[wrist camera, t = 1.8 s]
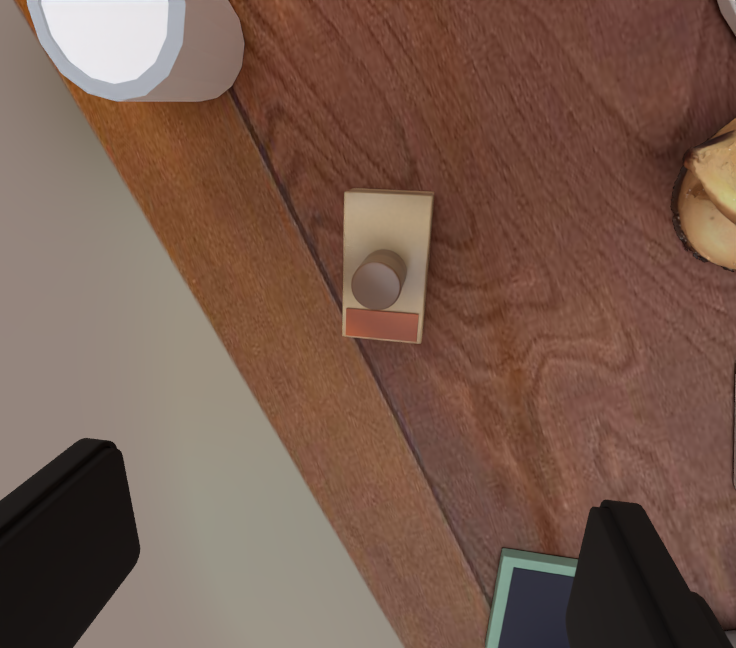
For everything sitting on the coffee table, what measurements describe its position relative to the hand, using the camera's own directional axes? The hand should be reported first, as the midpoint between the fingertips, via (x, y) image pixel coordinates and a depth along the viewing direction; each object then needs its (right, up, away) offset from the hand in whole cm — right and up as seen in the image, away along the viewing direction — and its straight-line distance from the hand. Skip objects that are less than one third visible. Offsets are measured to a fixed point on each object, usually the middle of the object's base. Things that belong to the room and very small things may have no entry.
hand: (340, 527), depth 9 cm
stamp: (+2, +8, +18) cm, 19 cm away
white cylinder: (-9, +19, +15) cm, 26 cm away
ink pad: (+14, -17, +25) cm, 33 cm away
